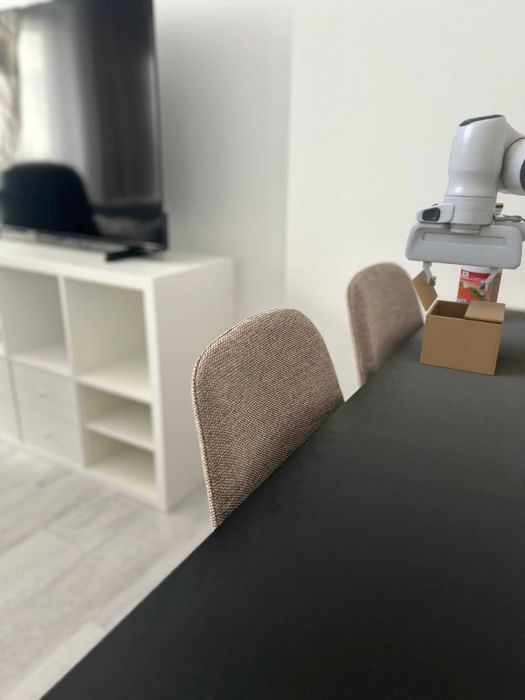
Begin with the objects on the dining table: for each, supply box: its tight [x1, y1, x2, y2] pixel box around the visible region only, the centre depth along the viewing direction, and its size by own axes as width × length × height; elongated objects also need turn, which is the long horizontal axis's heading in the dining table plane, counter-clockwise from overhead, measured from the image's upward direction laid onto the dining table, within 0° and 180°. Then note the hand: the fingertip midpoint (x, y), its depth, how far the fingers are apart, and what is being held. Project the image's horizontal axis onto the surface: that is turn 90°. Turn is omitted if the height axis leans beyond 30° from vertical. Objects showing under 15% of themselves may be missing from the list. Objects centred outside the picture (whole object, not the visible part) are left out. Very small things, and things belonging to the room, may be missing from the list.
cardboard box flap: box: [411, 268, 439, 312], centre depth 100 cm, size 14×6×1 cm
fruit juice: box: [455, 202, 504, 303], centre depth 126 cm, size 9×9×28 cm
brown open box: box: [419, 299, 506, 377], centre depth 99 cm, size 14×13×10 cm
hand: (456, 288), depth 97 cm, fingers open, 8 cm apart
